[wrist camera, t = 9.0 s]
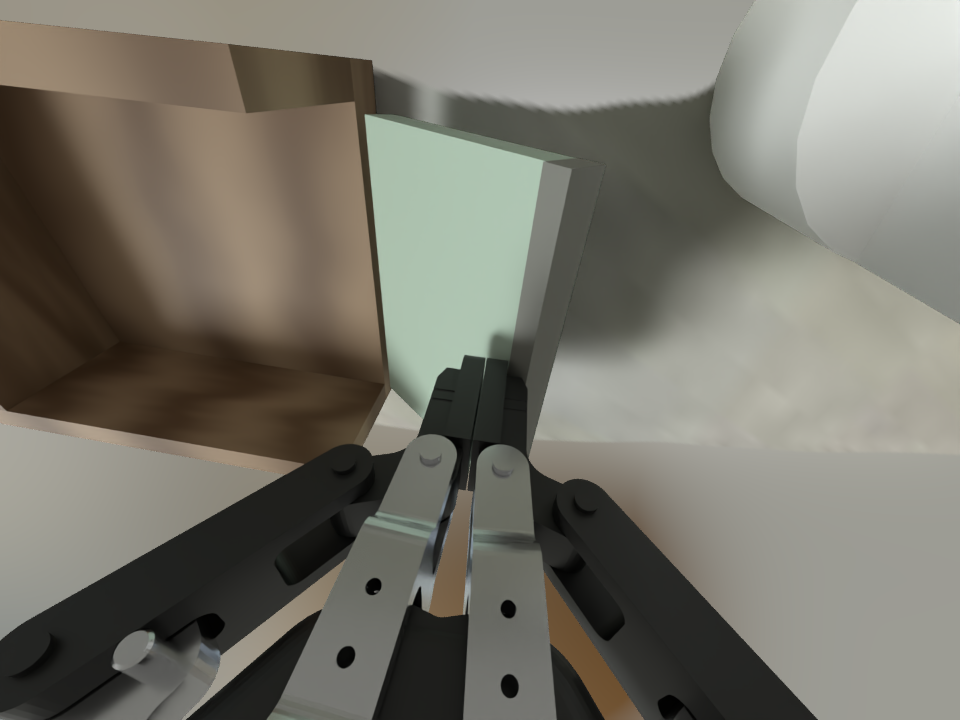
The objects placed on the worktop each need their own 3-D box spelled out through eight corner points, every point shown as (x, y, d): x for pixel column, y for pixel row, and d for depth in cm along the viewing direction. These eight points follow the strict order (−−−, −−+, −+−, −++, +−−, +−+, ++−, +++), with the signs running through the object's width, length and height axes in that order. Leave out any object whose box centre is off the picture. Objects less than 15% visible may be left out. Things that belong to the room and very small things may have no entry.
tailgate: (396, 114, 14) (606, 164, 9) (409, 377, 22) (522, 480, 17) (361, 113, 13) (571, 168, 8) (388, 387, 21) (500, 498, 16)
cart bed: (372, 60, 14) (228, 44, 8) (396, 377, 24) (343, 485, 17) (-53, 16, 15) (-487, -31, 9) (139, 336, 25) (1, 423, 19)
